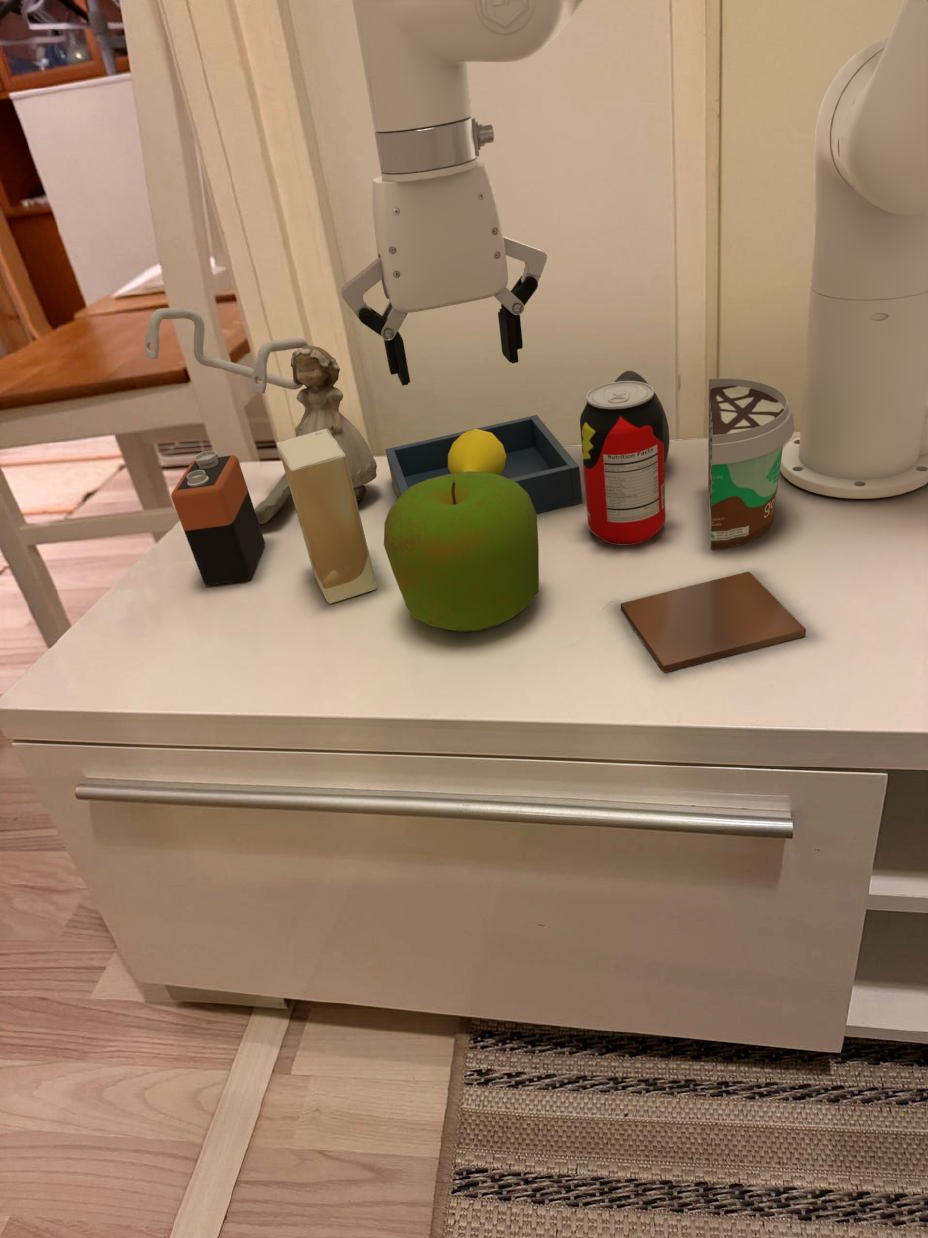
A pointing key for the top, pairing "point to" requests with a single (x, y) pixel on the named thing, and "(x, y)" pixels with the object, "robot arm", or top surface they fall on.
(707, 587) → the placemat
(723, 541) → the brown and cream wedge
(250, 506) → the battery
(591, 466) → the beverage can
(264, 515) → the stone
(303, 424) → the figurine
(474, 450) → the lemon
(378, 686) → the top surface
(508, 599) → the apple
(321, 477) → the cosmetic box
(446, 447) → the bin
